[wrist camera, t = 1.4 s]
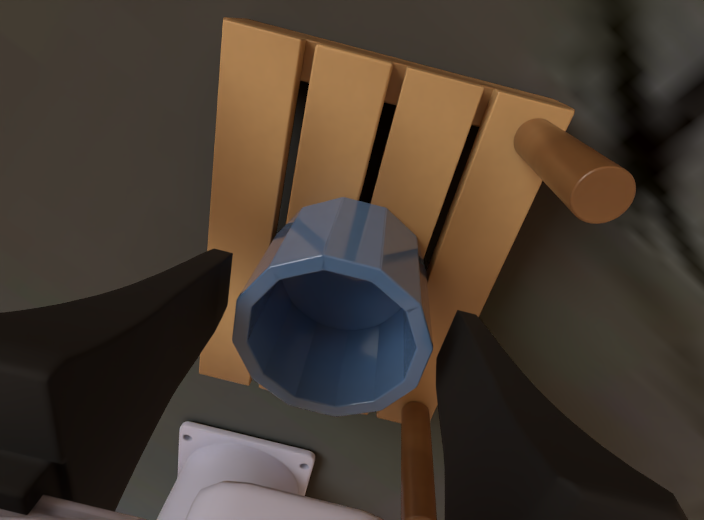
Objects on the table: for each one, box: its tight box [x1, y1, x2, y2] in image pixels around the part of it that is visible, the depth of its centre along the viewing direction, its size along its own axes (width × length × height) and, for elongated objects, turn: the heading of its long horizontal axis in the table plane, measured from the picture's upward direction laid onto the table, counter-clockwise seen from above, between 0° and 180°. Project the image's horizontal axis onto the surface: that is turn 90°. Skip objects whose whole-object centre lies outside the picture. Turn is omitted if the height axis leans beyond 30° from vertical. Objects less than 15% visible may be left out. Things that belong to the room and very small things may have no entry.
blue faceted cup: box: [232, 197, 433, 417], centre depth 14 cm, size 6×6×4 cm
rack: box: [199, 17, 636, 520], centre depth 15 cm, size 14×11×8 cm
